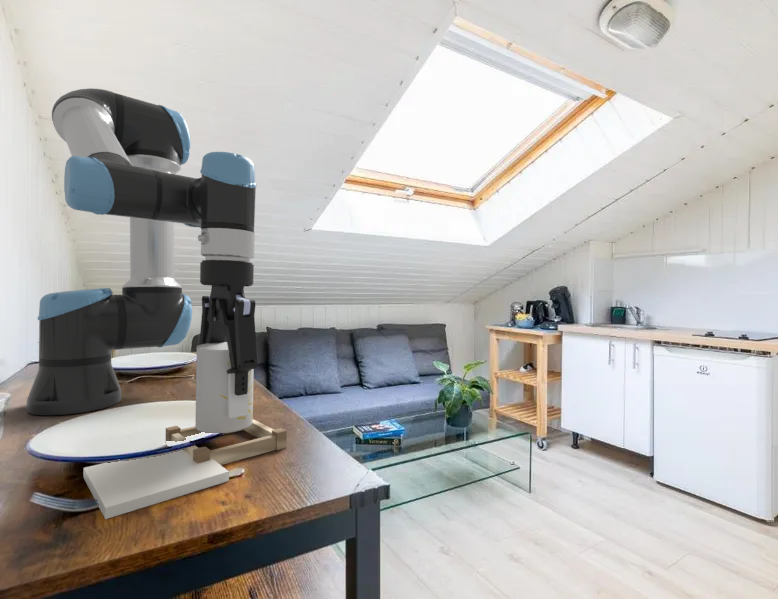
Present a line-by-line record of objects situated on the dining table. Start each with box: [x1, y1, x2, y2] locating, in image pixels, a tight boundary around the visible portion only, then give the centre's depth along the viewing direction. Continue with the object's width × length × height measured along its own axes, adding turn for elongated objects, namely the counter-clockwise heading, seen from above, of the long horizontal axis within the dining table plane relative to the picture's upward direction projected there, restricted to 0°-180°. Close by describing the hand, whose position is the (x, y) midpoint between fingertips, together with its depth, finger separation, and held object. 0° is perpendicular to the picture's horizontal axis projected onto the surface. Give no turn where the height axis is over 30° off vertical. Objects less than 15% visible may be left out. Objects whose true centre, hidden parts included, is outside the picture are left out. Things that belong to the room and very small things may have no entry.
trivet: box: [82, 450, 230, 520], centre depth 52 cm, size 13×13×1 cm
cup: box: [195, 341, 255, 434], centre depth 64 cm, size 8×8×12 cm
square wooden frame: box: [165, 418, 288, 466], centre depth 64 cm, size 13×13×3 cm
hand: (225, 408), depth 64 cm, fingers closed on cup, 8 cm apart
